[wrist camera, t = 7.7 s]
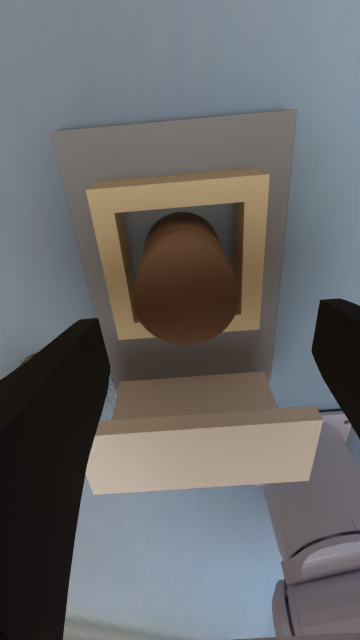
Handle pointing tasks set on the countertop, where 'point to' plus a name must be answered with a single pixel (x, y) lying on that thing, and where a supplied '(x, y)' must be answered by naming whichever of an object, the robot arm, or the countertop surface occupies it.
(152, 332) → the peg
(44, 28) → the countertop surface
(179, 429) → the socket stand
